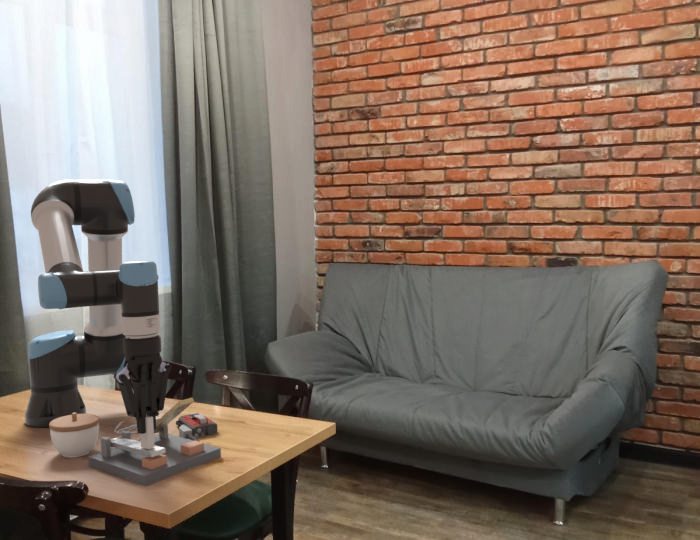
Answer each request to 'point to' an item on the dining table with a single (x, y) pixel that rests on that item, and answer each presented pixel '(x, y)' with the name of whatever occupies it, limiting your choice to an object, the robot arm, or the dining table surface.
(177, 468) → the mount plate
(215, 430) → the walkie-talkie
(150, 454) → the steel strap
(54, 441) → the lidded jar
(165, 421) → the brass strap
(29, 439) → the dining table surface
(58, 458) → the dining table surface
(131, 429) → the crossbow
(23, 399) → the dining table surface
